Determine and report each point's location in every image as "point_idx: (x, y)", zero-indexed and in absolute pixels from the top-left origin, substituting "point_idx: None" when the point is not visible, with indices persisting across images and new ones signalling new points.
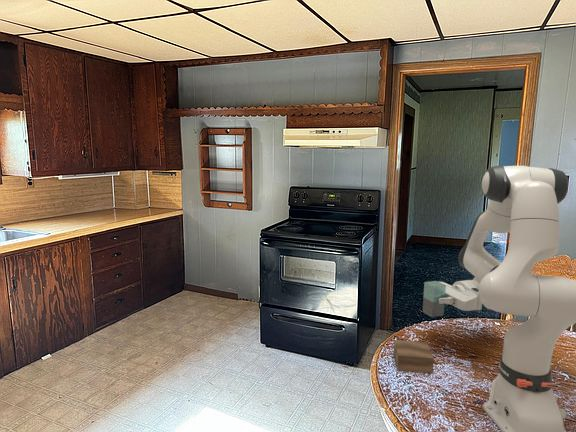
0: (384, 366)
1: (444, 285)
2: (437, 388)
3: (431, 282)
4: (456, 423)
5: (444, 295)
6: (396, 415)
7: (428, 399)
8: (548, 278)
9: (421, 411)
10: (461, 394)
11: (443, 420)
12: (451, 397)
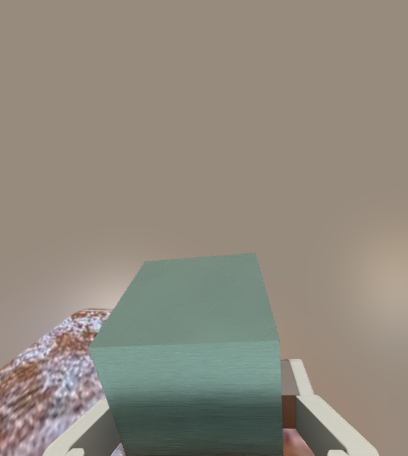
0: None
1: (98, 332)
2: (75, 401)
3: (234, 281)
4: (11, 367)
5: (123, 428)
6: (97, 310)
7: (76, 362)
8: None
9: (73, 338)
10: (13, 442)
11: (34, 354)
12: (35, 408)
